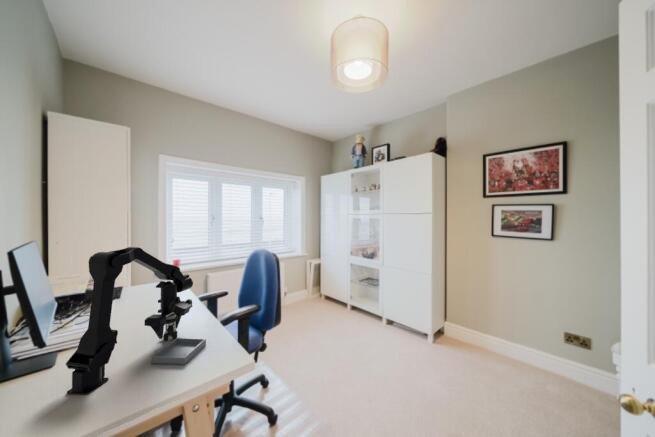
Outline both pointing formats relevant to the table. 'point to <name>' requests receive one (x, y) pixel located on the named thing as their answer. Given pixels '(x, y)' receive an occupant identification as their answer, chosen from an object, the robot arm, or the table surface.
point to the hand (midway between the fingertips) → (168, 333)
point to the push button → (170, 328)
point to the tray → (178, 351)
